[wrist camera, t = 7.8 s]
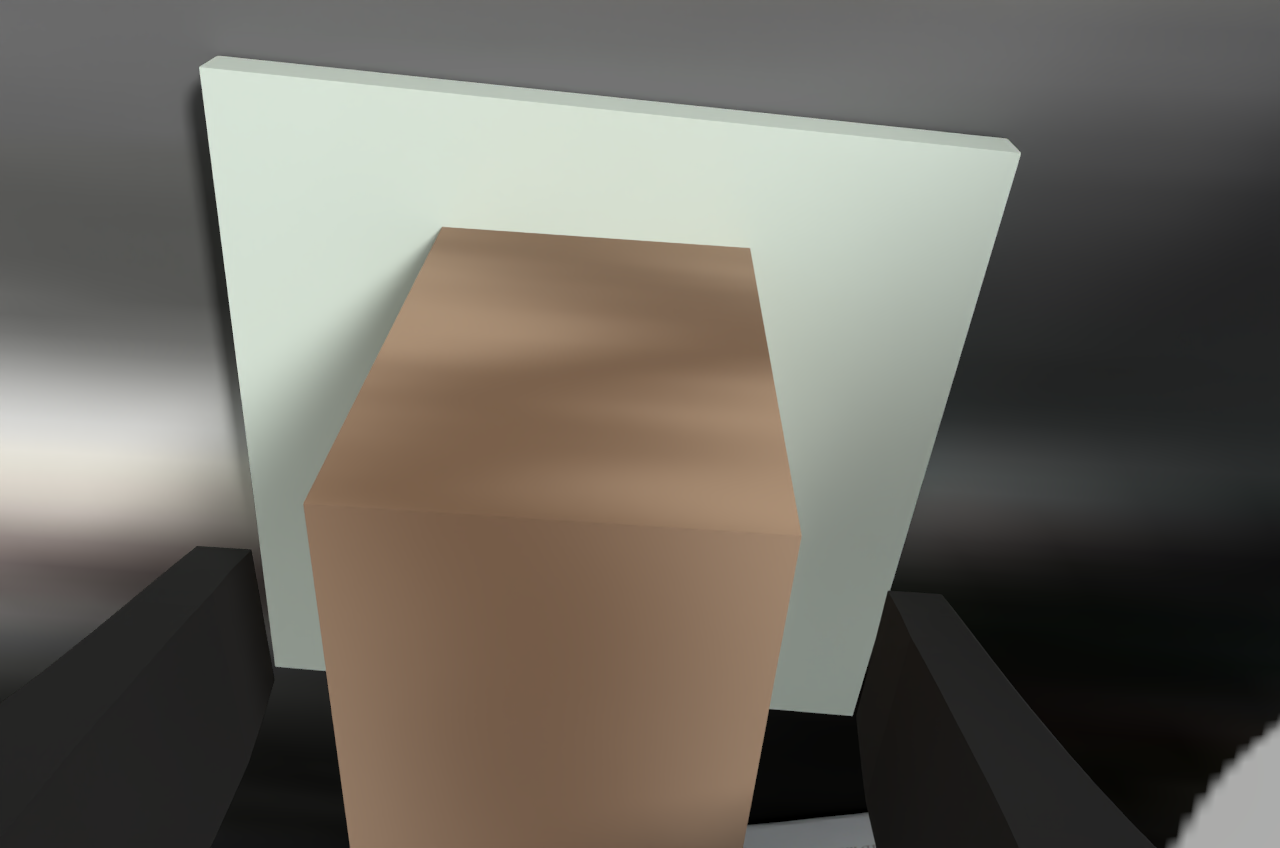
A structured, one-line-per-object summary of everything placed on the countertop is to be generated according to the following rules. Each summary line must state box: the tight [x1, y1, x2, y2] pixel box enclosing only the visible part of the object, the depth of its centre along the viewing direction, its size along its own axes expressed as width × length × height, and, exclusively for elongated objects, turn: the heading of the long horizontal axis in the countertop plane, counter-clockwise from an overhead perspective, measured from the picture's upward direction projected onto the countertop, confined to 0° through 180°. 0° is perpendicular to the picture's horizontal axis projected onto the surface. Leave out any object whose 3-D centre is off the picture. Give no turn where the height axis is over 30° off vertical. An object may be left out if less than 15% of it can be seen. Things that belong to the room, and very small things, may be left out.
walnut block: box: [303, 227, 802, 848], centre depth 12 cm, size 4×6×6 cm, turn 176°
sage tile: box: [199, 56, 1021, 716], centre depth 15 cm, size 10×10×1 cm
